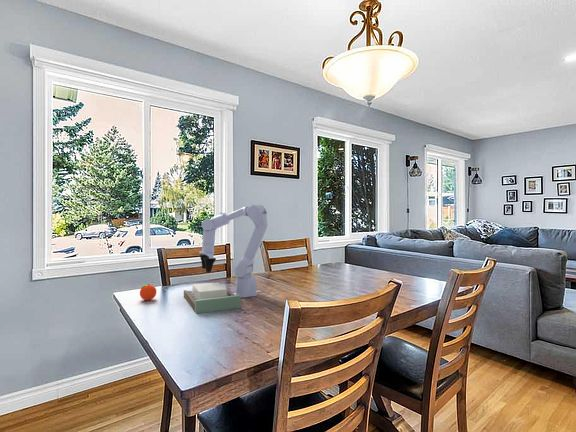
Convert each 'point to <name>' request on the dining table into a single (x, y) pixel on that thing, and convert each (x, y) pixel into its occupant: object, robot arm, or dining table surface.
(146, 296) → the clementine
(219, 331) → the dining table surface
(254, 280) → the robot arm
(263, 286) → the dining table surface
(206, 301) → the bar
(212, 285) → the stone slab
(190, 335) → the dining table surface
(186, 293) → the roller track
